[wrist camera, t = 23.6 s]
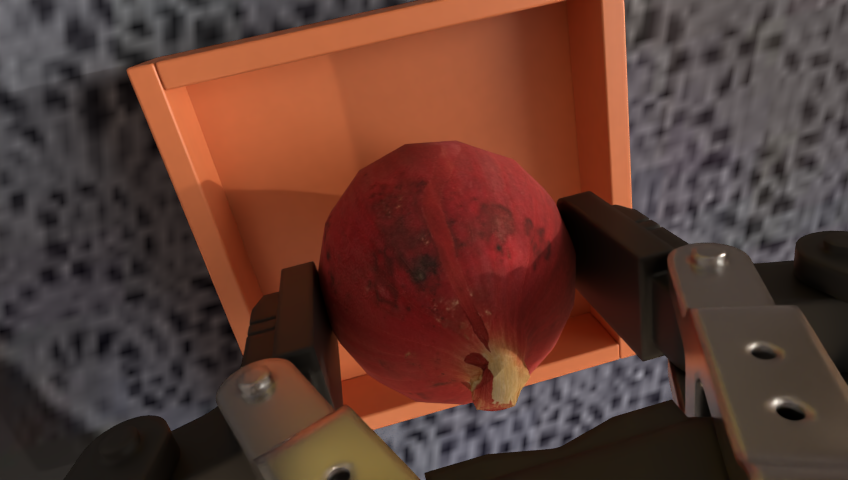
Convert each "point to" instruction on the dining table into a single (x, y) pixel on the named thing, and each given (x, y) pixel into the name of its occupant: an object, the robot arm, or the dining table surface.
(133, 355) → the dining table surface
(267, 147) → the terracotta tray
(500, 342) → the onion
